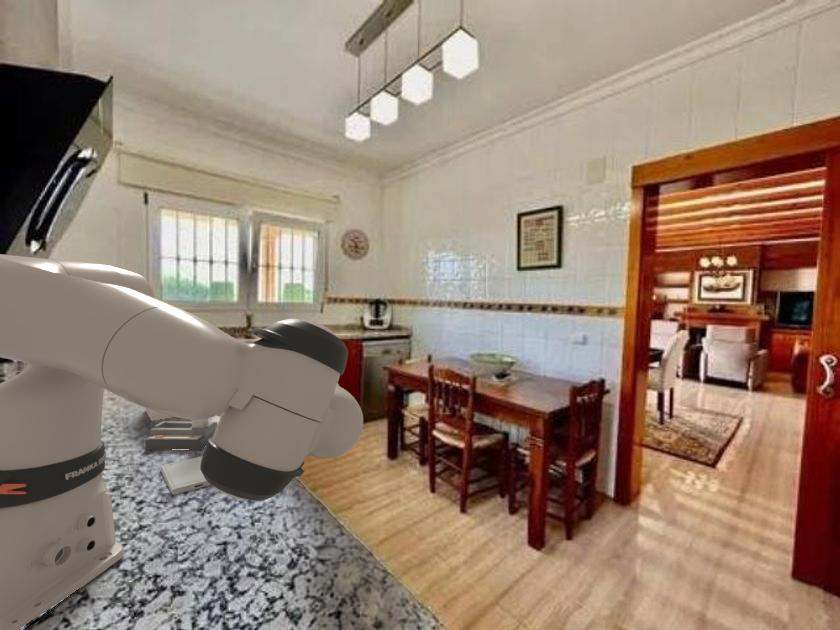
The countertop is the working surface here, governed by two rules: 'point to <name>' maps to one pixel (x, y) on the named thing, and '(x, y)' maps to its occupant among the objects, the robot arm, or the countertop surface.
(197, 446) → the switch base
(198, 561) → the countertop surface
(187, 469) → the hard drive
